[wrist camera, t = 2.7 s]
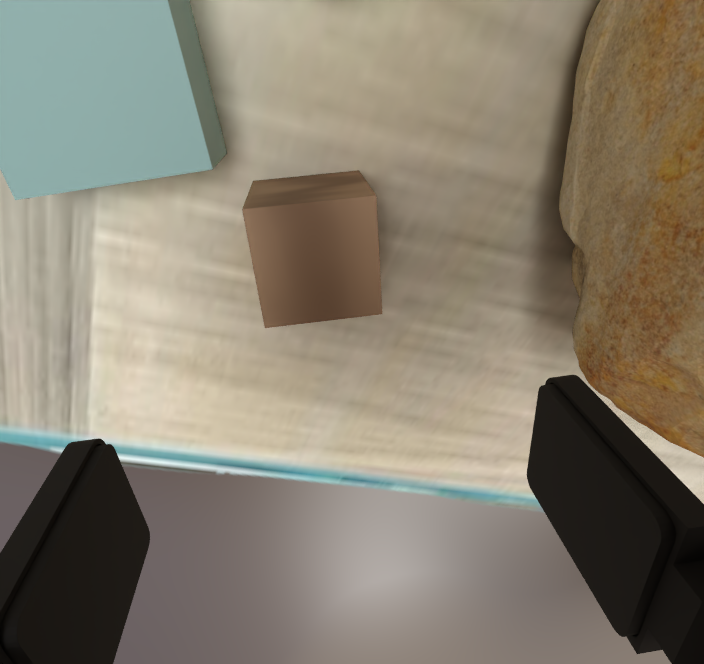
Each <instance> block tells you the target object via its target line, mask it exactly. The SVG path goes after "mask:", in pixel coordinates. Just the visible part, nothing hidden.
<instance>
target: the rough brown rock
mask: <svg viewBox="0 0 704 664" xmlns="http://www.w3.org/2000/svg"><path fill="white" fill-rule="evenodd" d="M559 211H560V216H561V220H562V225H563V229H564V230H565V231H566V233H567V234H568V236H569V237H570V238H571V240H572V241H573V242H574V244H575V247H574V249H573V251H572V279H573V283H574V285H575V288H576V291H577V293H578V296H579V298H580V301H579V306H578V309H577V313H576V316H575V321H574V326H573V344H574V351H575V353H576V355H577V358H578V360H579V367H580V369H581V371H582V372H583V374H584V376H585V377H586V379H587V381H588V382H589V384H590V385H591V386H592V387H593V388H594V389H596V390H597V391H598V392H599V393H600V394H602V395H604V396H605V397H607V398H609V399H610V400H611V401H612V402H613V403H614V404H615V406H616V407H617V408H619V409H620V410H622V411H623V412H625V413H626V414H628V415H629V416H631V417H632V418H633V419H635V420H636V421H637V422H639V423H641V424H643V425H645V426H647V427H648V428H650V429H651V430H653V431H654V432H656V433H657V434H659V435H660V436H662V437H663V438H665V439H666V440H668V441H669V442H671V443H673V444H676V445H678V446H680V447H682V448H685V449H687V450H689V451H692V452H694V453H696V454H698V455H700V456H702V457H704V0H600V2H599V4H598V5H597V7H596V9H595V12H594V14H593V16H592V18H591V21H590V23H589V25H588V28H587V30H586V35H585V40H584V45H583V50H582V53H581V57H580V60H579V64H578V67H577V71H576V81H575V92H574V99H573V115H572V121H571V126H570V131H569V136H568V142H567V150H566V160H565V166H564V171H563V182H562V186H561V190H560V201H559Z"/></svg>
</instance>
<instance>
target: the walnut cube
mask: <svg viewBox="0 0 704 664" xmlns="http://www.w3.org/2000/svg"><path fill="white" fill-rule="evenodd" d="M242 210H243V215H244V221H245V226H246V231H247V236H248V242H249V247H250V252H251V257H252V263H253V268H254V273H255V278H256V284H257V289H258V294H259V299H260V304H261V310H262V315H263V320H264V325H265V328H269V327H278V326H286V325H295V324H303V323H311V322H320V321H328V320H336V319H345V318H353V317H362V316H370V315H378V314H382V299H381V279H380V259H379V239H378V219H377V198H376V194H375V193H374V191H373V190H372V189H371V187H370V186H369V184H368V183H367V182H366V180H365V179H364V177H363V176H362V175H361V173H360V172H359V170H358V171H348V172H339V173H329V174H319V175H309V176H299V177H289V178H279V179H269V180H259V181H253V183H252V186H251V188H250V191H249V193H248V196H247V199H246V201H245V204H244V206H243V209H242Z"/></svg>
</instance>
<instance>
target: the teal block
mask: <svg viewBox="0 0 704 664" xmlns="http://www.w3.org/2000/svg"><path fill="white" fill-rule="evenodd" d="M226 154H227V151H226V147H225V143H224V139H223V135H222V131H221V127H220V123H219V119H218V115H217V111H216V107H215V102H214V98H213V94H212V90H211V86H210V82H209V78H208V74H207V70H206V66H205V62H204V58H203V54H202V50H201V46H200V42H199V38H198V34H197V30H196V26H195V22H194V18H193V14H192V9H191V5H190V1H189V0H0V169H1V171H2V173H3V176H4V178H5V180H6V182H7V184H8V186H9V188H10V190H11V192H12V194H13V196H14V198H15V200H19V199H25V198H32V197H38V196H45V195H51V194H58V193H64V192H71V191H77V190H84V189H90V188H96V187H103V186H109V185H116V184H122V183H129V182H135V181H142V180H148V179H155V178H161V177H168V176H174V175H181V174H187V173H193V172H200V171H206V170H213V169H214V167H215V166H216V165H217V164H218V163H219V162H220V161H221V159H222V158H223V157H224V156H225V155H226Z"/></svg>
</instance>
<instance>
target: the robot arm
mask: <svg viewBox="0 0 704 664" xmlns="http://www.w3.org/2000/svg"><path fill="white" fill-rule="evenodd" d="M527 479H528V483H529V486H530V488H531V490H532V492H533V493H534V495H535V497H536V498H537V500H538V502H539V503H540V505H541V507H542V508H543V510H544V512H545V513H546V515H547V517H548V519H549V520H550V522H551V524H552V525H553V527H554V529H555V530H556V532H557V534H558V535H559V537H560V539H561V541H562V542H563V544H564V546H565V547H566V549H567V551H568V552H569V554H570V556H571V557H572V559H573V561H574V563H575V564H576V566H577V568H578V569H579V571H580V573H581V574H582V576H583V578H584V579H585V581H586V583H587V584H588V586H589V588H590V589H591V591H592V593H593V594H594V596H595V598H596V600H597V601H598V603H599V605H600V606H601V608H602V610H603V611H604V613H605V615H606V616H607V618H608V620H609V622H610V623H611V625H612V627H613V628H614V630H615V631H616V632H617V633H618V634H619V635H620V636H622V637H625V636H627V638H628V640H629V641H630V643H631V645H632V646H633V648H634V650H635V651H636V653H637V654H640V653H646V652H652V651H657V650H663V651H664V653H665V654H666V656H667V657H668V659H669V660H670V662H671V663H672V664H704V504H703V503H702V502H701V501H700V500H699V499H698V498H697V497H696V496H695V495H694V494H693V493H692V492H691V491H690V490H689V489H688V488H687V487H686V486H685V485H684V484H683V483H682V482H681V481H680V480H679V479H678V478H677V476H676V475H675V474H674V473H673V472H672V471H671V470H670V469H669V468H668V467H667V466H666V465H665V464H664V463H663V462H662V461H661V460H660V459H659V458H658V457H657V456H656V455H655V454H654V453H653V452H652V451H651V450H650V449H649V448H648V447H647V446H646V445H645V444H644V443H643V442H642V441H641V440H640V439H639V438H638V437H637V436H636V435H635V434H634V433H633V432H632V431H631V430H630V429H629V428H628V427H627V426H626V424H625V423H624V422H623V421H622V420H621V419H620V418H619V417H618V416H617V415H616V414H615V413H614V412H613V411H612V410H611V409H610V408H609V407H608V406H607V405H606V404H605V403H604V402H603V401H602V400H601V399H600V398H599V397H598V396H597V395H596V394H595V393H594V392H593V391H592V390H591V389H590V388H589V387H588V386H587V385H586V384H585V383H584V382H583V381H582V380H581V379H580V378H579V377H578V376H577V375H568V376H560V377H553V378H549V379H548V380H547V381H546V384H545V385H543V386H541V387H540V388H539V392H538V399H537V406H536V413H535V420H534V427H533V434H532V441H531V447H530V454H529V461H528V468H527ZM149 542H150V533H149V528H148V526H147V524H146V521H145V519H144V516H143V514H142V512H141V509H140V507H139V505H138V502H137V500H136V498H135V495H134V493H133V491H132V488H131V486H130V484H129V481H128V479H127V477H126V474H125V472H124V470H123V467H122V465H121V463H120V460H119V458H118V456H117V453H116V451H115V449H114V447H113V446H112V445H111V444H107V445H106V444H105V442H104V441H103V440H102V439H92V440H85V441H77V442H71V443H69V444H68V445H67V446H66V447H65V449H64V451H63V452H62V454H61V456H60V457H59V459H58V460H57V462H56V464H55V465H54V467H53V469H52V470H51V472H50V473H49V475H48V477H47V478H46V480H45V482H44V483H43V485H42V486H41V488H40V490H39V491H38V493H37V494H36V496H35V498H34V499H33V501H32V503H31V504H30V506H29V507H28V509H27V511H26V512H25V514H24V516H23V517H22V519H21V520H20V522H19V524H18V525H17V527H16V529H15V530H14V532H13V533H12V535H11V537H10V539H9V540H8V542H7V543H6V545H5V546H4V548H3V550H2V551H1V553H0V664H113V662H114V659H115V655H116V652H117V648H118V646H119V642H120V639H121V635H122V632H123V629H124V626H125V623H126V619H127V616H128V613H129V609H130V606H131V603H132V600H133V596H134V593H135V590H136V587H137V583H138V580H139V577H140V573H141V570H142V567H143V564H144V560H145V557H146V554H147V551H148V547H149Z"/></svg>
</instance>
